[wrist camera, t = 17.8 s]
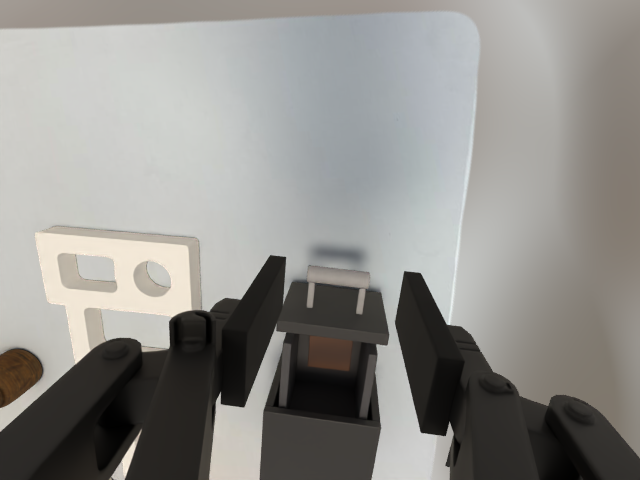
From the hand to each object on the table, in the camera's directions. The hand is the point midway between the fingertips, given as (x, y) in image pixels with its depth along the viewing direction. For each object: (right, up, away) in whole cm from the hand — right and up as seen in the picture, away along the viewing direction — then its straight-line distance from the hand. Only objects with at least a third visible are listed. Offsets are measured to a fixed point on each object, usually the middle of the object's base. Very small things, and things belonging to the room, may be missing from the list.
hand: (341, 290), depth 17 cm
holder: (-26, -18, +32) cm, 45 cm away
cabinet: (-1, -19, +30) cm, 35 cm away
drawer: (0, -7, +25) cm, 26 cm away
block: (0, -8, +24) cm, 25 cm away
